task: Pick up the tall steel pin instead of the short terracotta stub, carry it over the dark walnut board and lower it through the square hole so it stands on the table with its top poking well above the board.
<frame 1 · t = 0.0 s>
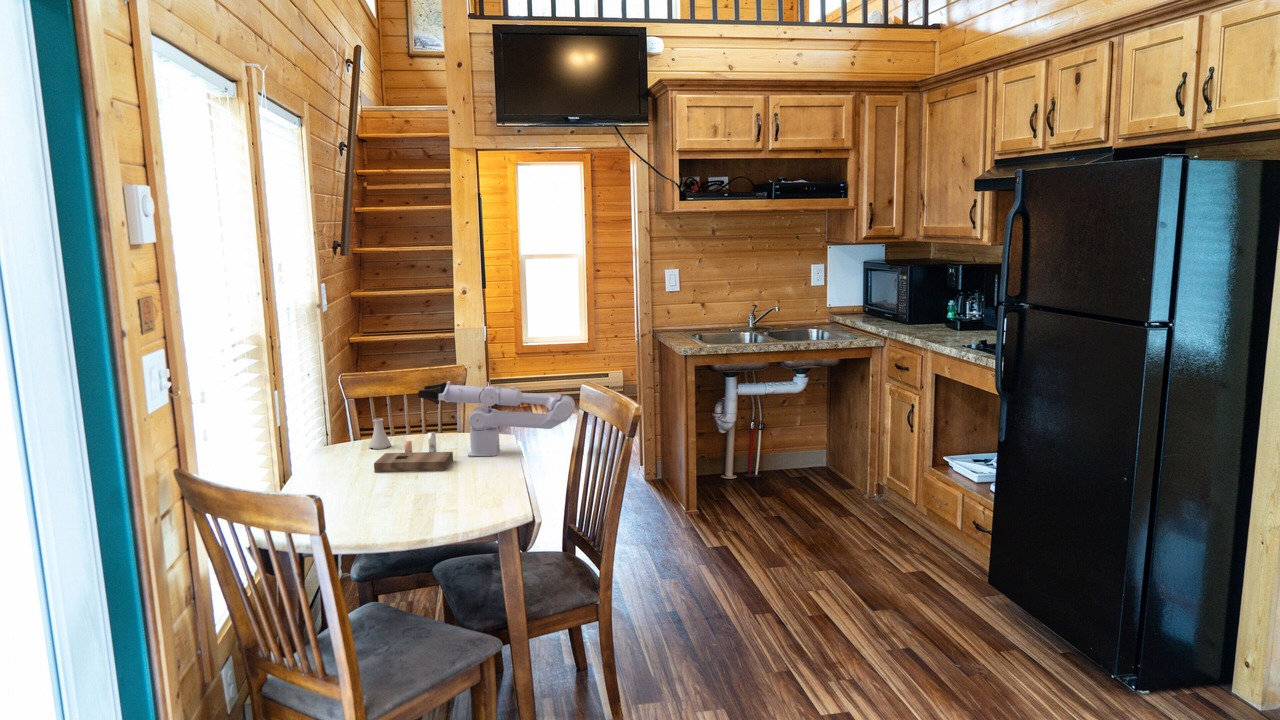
hand: (421, 391, 278), 22 cm above the table, tool horizontal, fingers open, 7 cm apart
short pin: (408, 454, 282), on the table
hole board: (414, 466, 267), on the table
tall pin: (433, 456, 279), on the table
flask: (380, 447, 293), on the table
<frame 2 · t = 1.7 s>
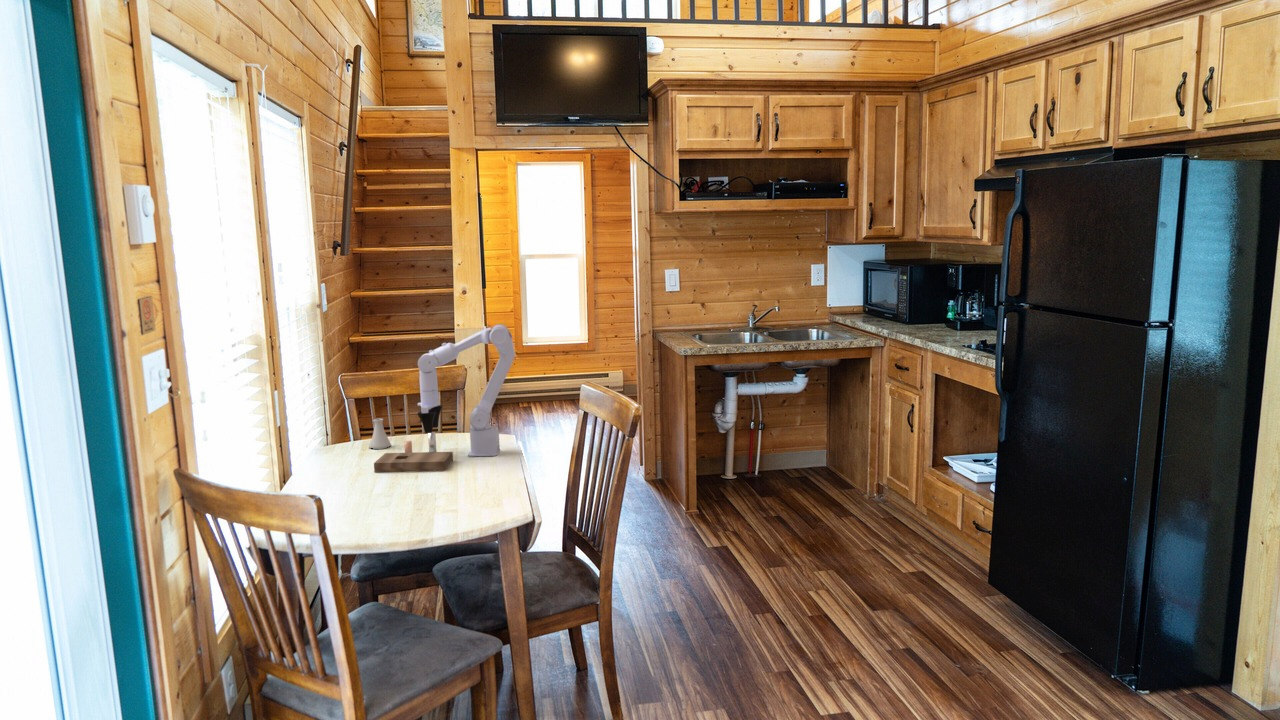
hand: (431, 430, 278), 9 cm above the table, tool pointing down, fingers open, 7 cm apart
nothing on the table moved.
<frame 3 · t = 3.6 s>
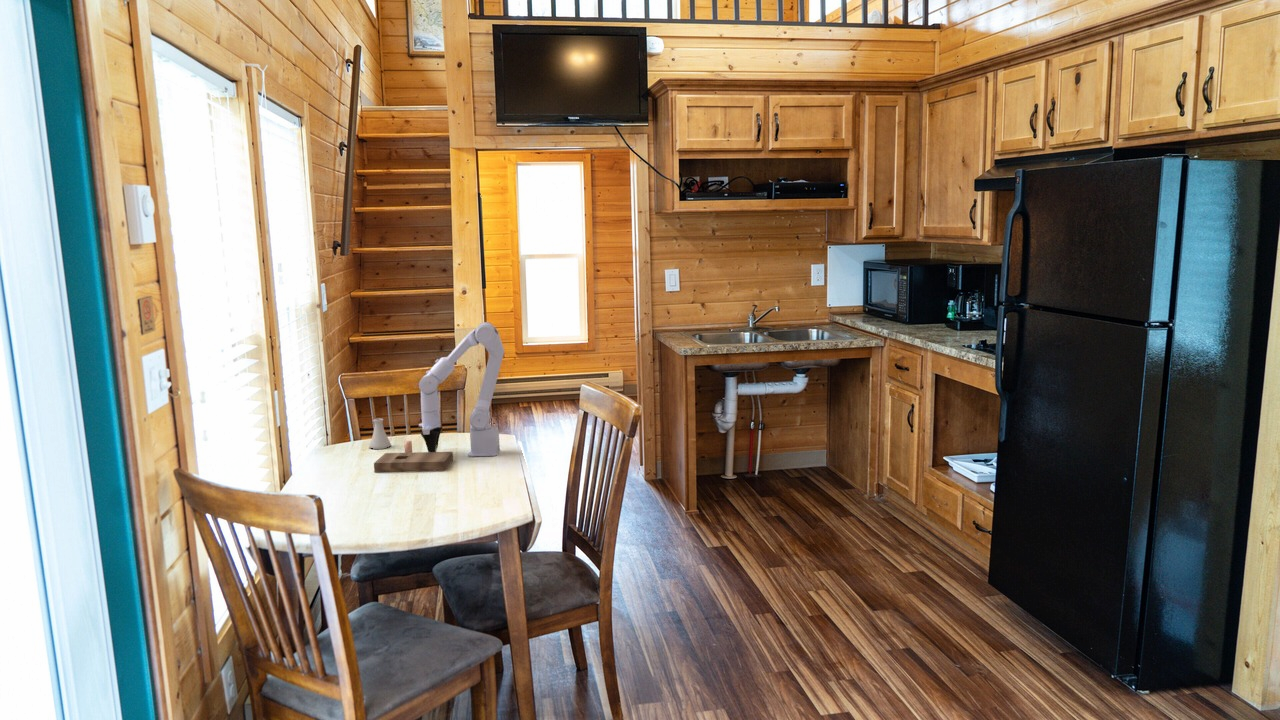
hand: (432, 450, 279), 2 cm above the table, tool pointing down, fingers closed on tall pin, 2 cm apart
tall pin: (433, 456, 279), on the table, touching gripper
everything else where it was.
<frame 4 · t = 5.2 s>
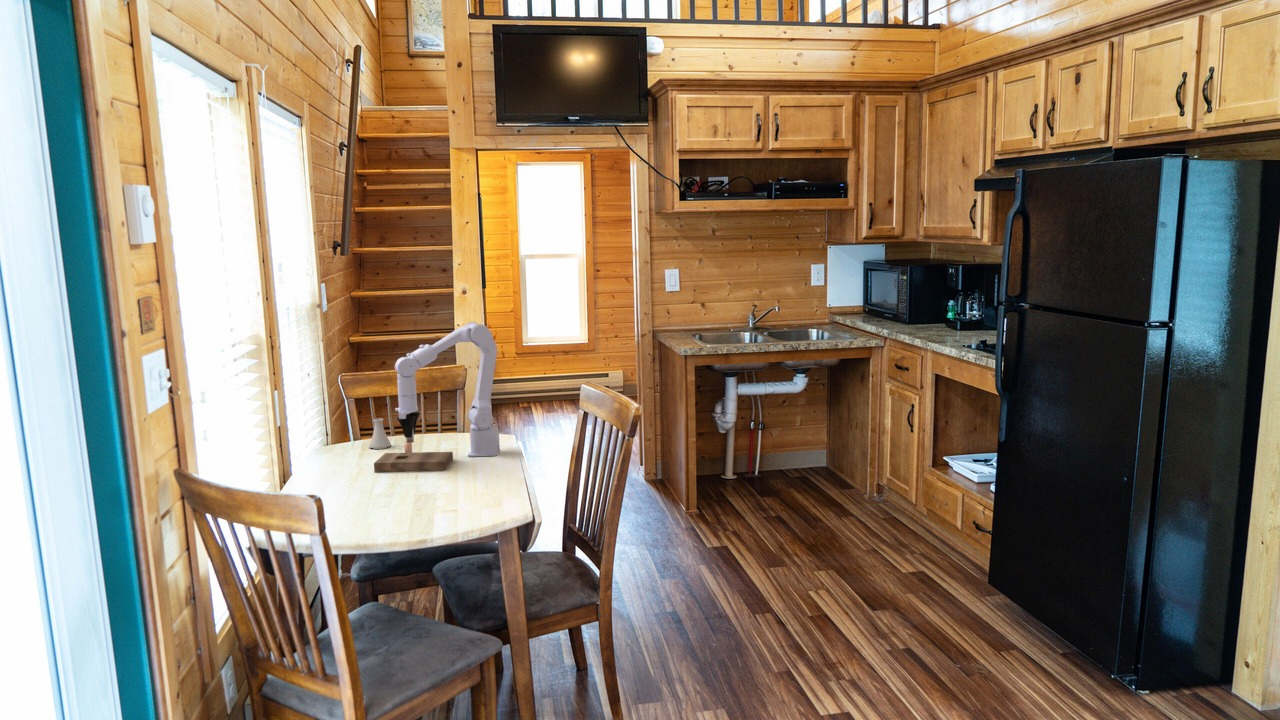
hand: (409, 436, 270), 9 cm above the table, tool pointing down, fingers closed on tall pin, 2 cm apart
tall pin: (410, 441, 270), point 7 cm above the table, touching gripper
everything else where it was.
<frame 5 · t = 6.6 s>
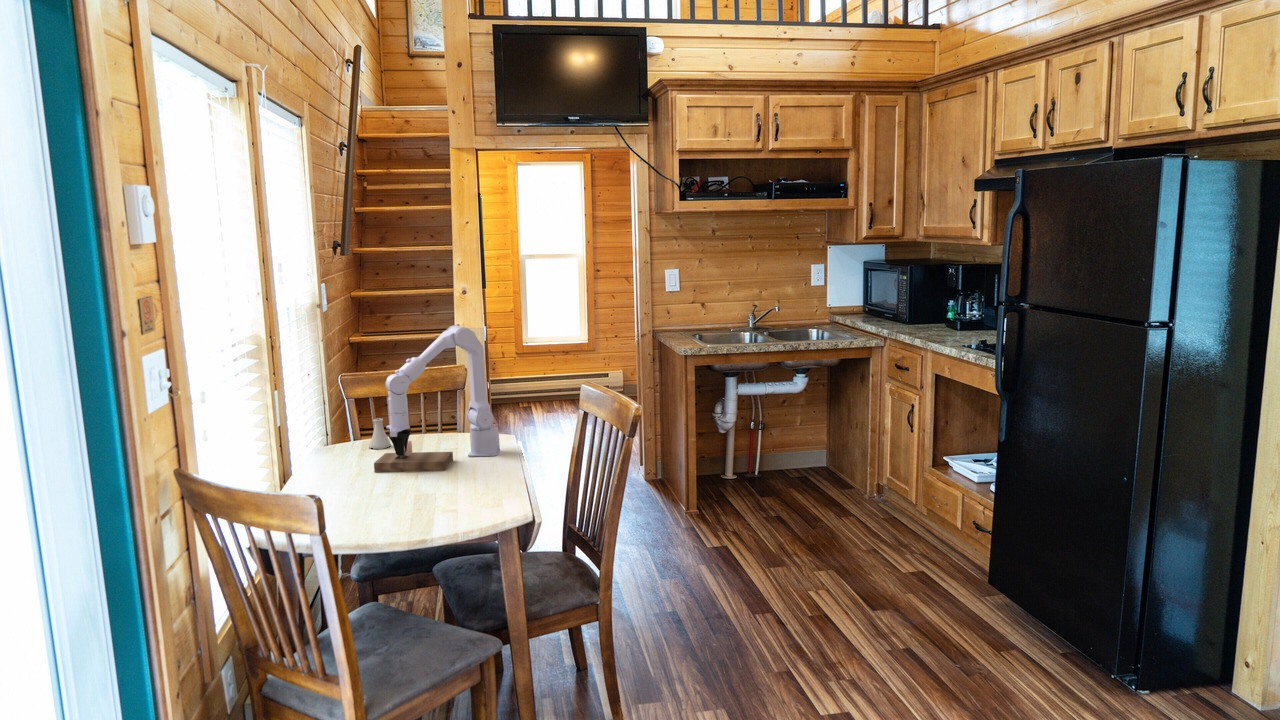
hand: (401, 453, 267), 4 cm above the table, tool pointing down, fingers closed on tall pin, 2 cm apart
tall pin: (401, 459, 267), point 2 cm above the table, touching gripper
everything else where it was.
when the fingers open (4 cm above the table, at t = 7.3 s): tall pin drops 2 cm, resting in hole board.
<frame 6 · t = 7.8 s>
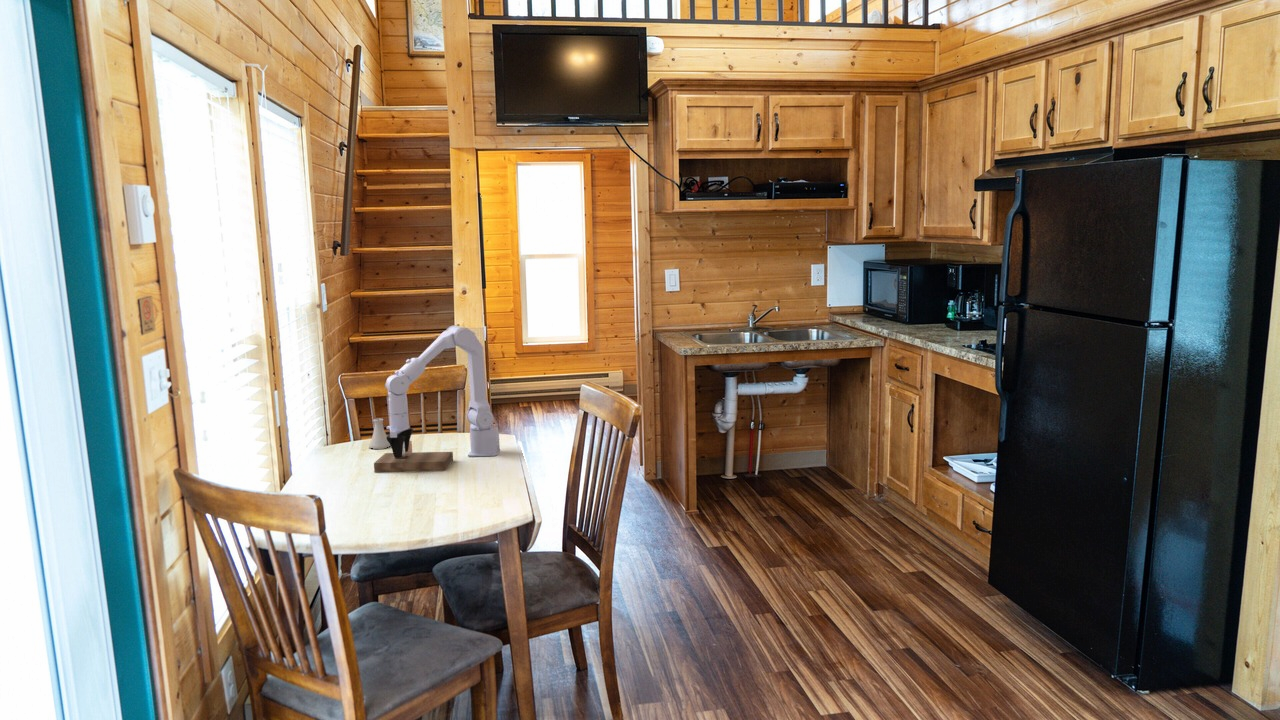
hand: (401, 454, 267), 4 cm above the table, tool pointing down, fingers open, 7 cm apart
tall pin: (402, 466, 267), resting in hole board
everything else where it was.
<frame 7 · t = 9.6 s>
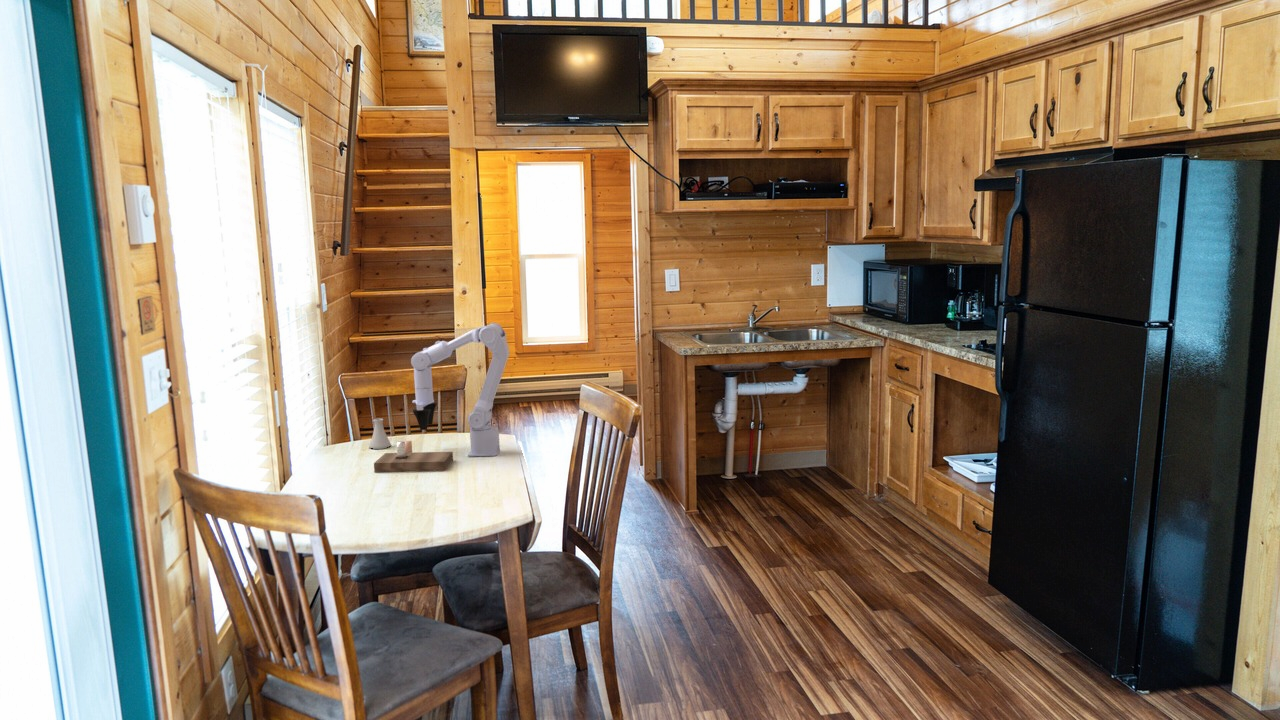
hand: (426, 427, 281), 9 cm above the table, tool pointing down, fingers open, 7 cm apart
nothing on the table moved.
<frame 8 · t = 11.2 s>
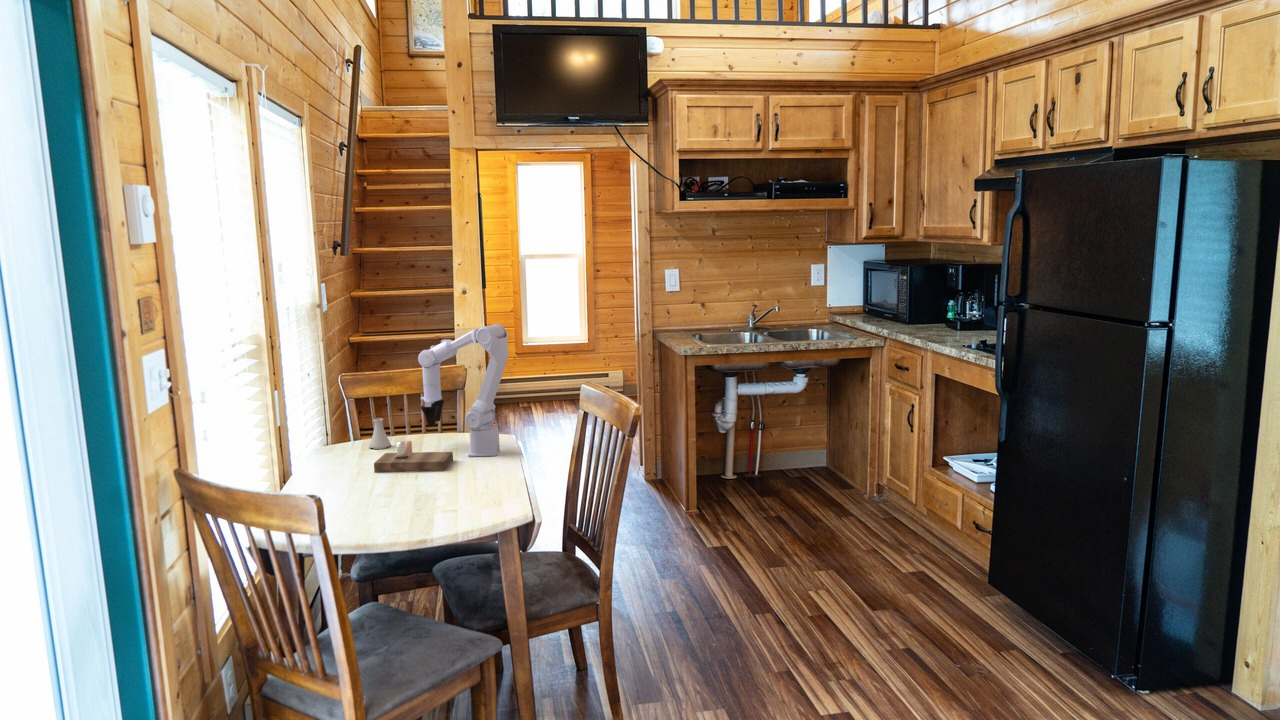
hand: (434, 423, 286), 9 cm above the table, tool pointing down, fingers open, 7 cm apart
nothing on the table moved.
at the end: tall pin 0.1 cm from the target spot on the hole board, point 0.0 cm above the hole board's base; tall pin tilted 0°; short pin moved 0.0 cm from its start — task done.
